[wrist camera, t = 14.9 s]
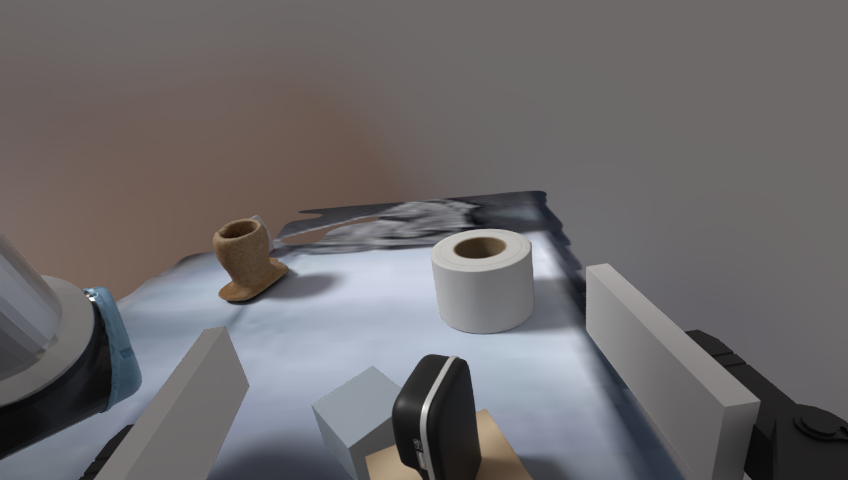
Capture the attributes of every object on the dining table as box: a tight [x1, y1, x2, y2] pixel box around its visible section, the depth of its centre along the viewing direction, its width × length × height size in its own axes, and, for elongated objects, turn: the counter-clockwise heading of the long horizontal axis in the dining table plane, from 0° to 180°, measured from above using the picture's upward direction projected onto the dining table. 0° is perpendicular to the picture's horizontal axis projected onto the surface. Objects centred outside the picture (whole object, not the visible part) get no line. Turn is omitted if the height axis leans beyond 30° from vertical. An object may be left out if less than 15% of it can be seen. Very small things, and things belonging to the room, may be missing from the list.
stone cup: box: [213, 219, 289, 301], centre depth 85 cm, size 15×12×15 cm
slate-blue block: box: [312, 366, 402, 480], centre depth 44 cm, size 8×8×6 cm
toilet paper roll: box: [431, 229, 534, 334], centre depth 65 cm, size 16×15×11 cm
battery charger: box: [391, 354, 482, 480], centre depth 30 cm, size 7×4×11 cm, turn 156°
